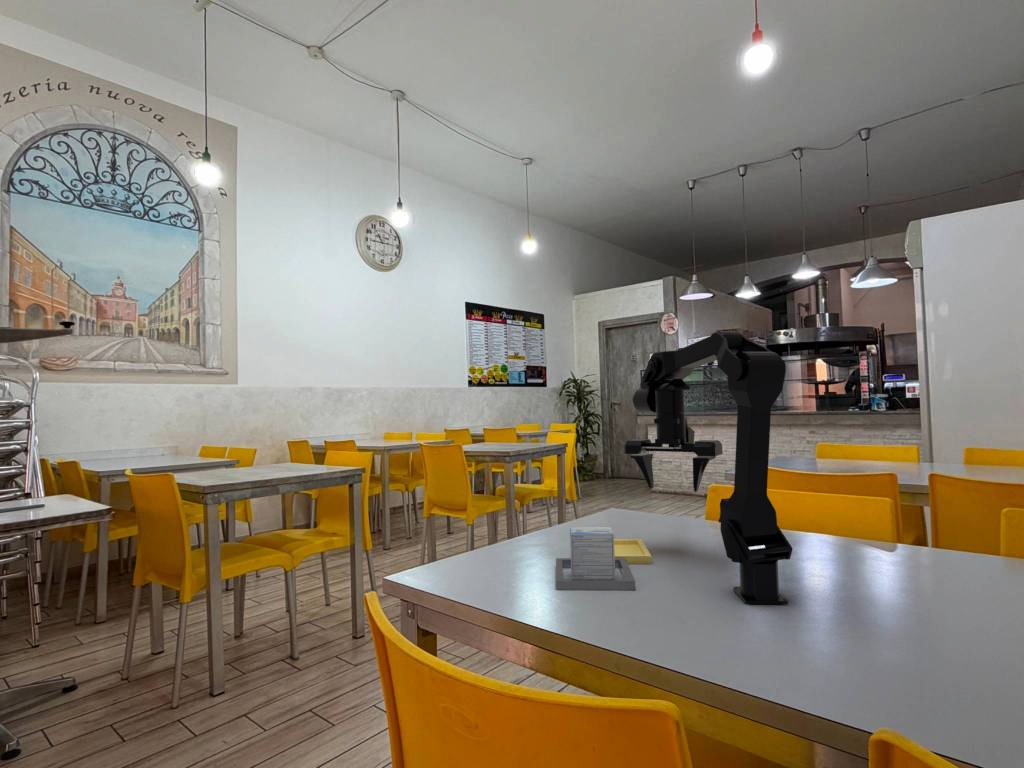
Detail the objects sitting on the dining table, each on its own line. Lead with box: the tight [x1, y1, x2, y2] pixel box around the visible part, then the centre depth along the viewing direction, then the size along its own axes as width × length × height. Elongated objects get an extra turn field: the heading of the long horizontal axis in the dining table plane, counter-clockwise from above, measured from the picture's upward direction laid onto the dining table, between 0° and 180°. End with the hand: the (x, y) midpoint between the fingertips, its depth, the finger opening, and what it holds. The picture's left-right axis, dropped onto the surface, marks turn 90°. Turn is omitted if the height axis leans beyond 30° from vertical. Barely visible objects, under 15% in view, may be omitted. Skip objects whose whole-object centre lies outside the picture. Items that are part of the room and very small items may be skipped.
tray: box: [614, 538, 653, 565], centre depth 114 cm, size 13×9×2 cm
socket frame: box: [555, 557, 636, 591], centre depth 100 cm, size 13×13×2 cm
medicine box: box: [569, 526, 616, 579], centre depth 100 cm, size 8×4×9 cm, turn 84°
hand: (673, 489), depth 111 cm, fingers open, 9 cm apart
